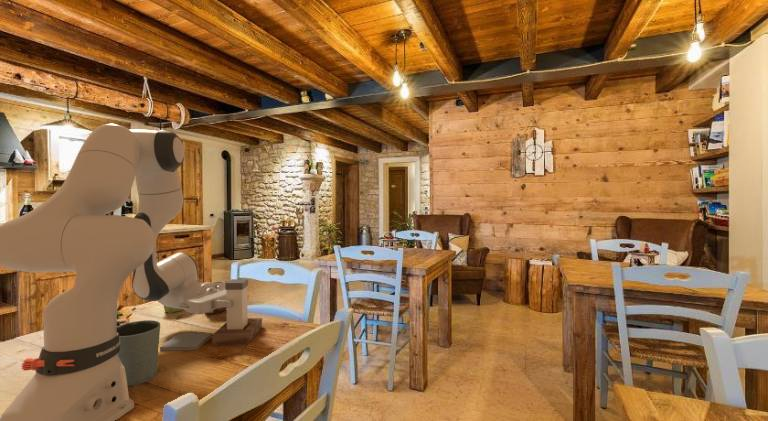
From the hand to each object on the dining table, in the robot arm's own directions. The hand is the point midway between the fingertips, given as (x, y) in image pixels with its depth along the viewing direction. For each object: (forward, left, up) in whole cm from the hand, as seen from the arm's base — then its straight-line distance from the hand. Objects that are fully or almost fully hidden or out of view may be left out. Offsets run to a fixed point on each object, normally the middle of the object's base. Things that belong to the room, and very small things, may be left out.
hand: (239, 300), depth 109 cm
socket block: (+1, +1, -11) cm, 11 cm away
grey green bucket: (-24, +16, -11) cm, 31 cm away
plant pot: (+27, +34, -11) cm, 45 cm away
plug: (0, +1, -8) cm, 8 cm away
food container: (+25, +16, -11) cm, 32 cm away
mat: (-4, +14, -11) cm, 18 cm away
